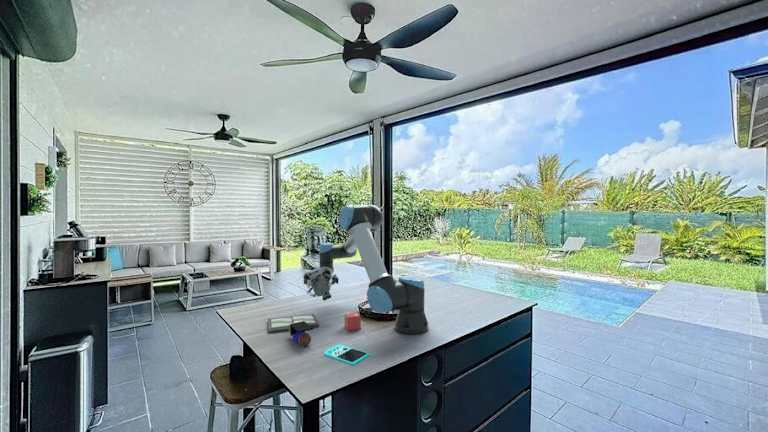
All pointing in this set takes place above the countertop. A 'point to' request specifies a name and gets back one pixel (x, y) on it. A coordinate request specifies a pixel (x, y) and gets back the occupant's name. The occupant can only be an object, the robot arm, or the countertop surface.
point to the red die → (352, 321)
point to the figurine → (318, 283)
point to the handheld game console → (346, 354)
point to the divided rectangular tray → (290, 322)
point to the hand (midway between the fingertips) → (319, 284)
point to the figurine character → (300, 332)
